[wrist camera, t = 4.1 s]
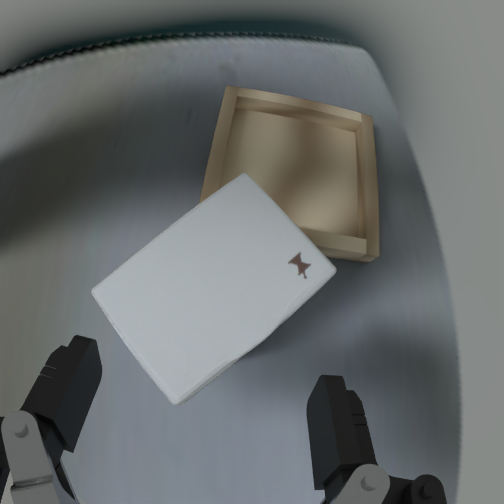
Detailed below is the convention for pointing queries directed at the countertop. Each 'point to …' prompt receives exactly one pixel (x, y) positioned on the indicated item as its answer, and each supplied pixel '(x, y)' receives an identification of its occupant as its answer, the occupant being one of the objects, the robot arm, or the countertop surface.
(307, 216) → the holder
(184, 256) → the skincare box
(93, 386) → the robot arm
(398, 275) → the countertop surface
